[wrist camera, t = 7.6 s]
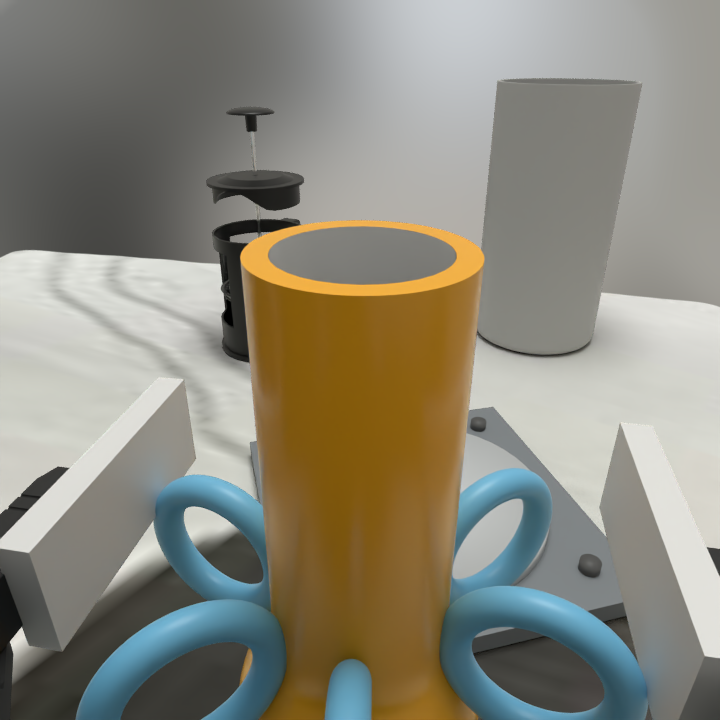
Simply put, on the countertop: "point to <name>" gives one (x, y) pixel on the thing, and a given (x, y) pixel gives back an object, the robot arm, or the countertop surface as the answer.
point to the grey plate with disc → (496, 529)
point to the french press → (247, 229)
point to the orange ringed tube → (363, 503)
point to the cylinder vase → (552, 208)
